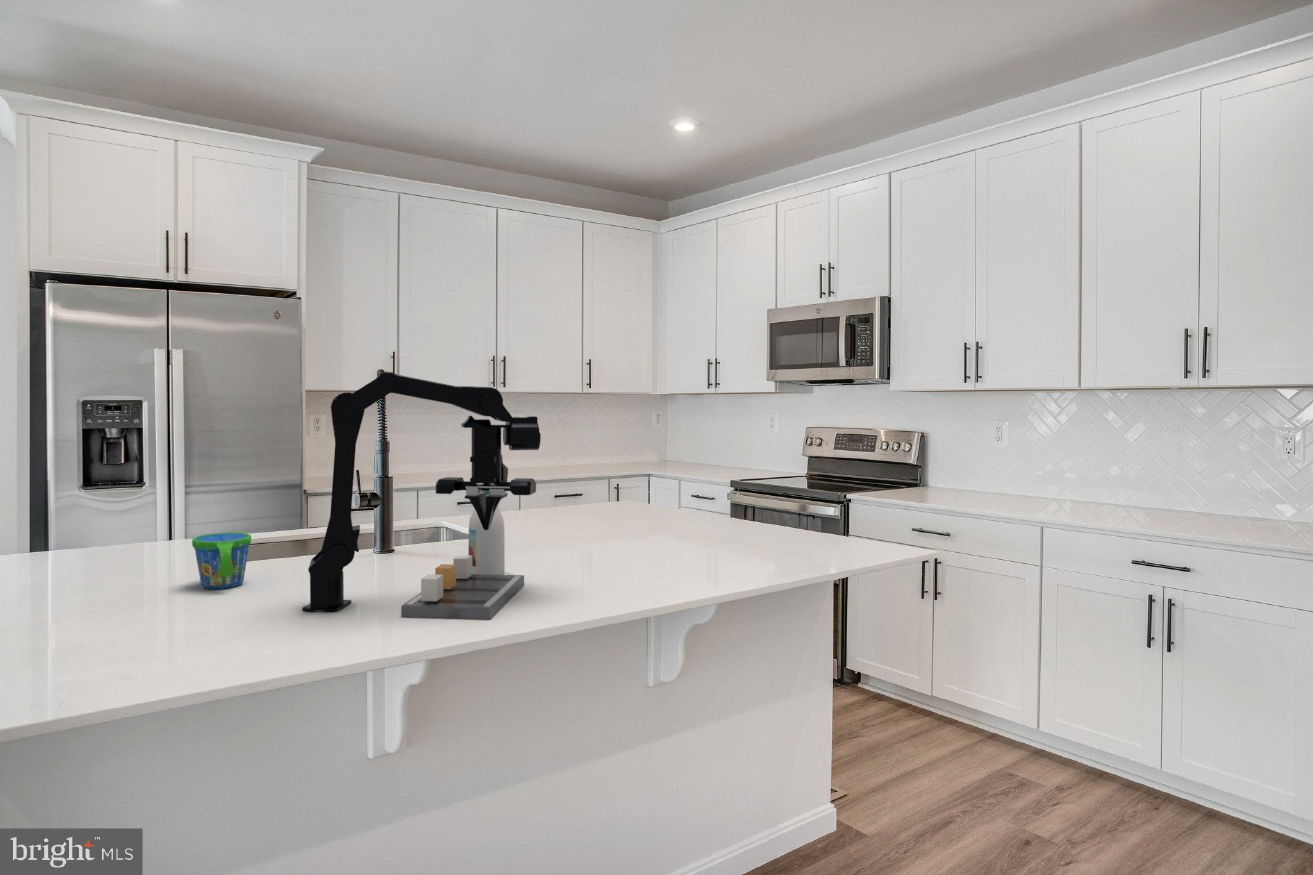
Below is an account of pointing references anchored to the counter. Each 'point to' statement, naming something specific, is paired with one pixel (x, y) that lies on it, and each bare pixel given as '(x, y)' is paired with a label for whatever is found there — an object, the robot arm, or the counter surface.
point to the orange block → (447, 574)
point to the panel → (468, 598)
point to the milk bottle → (487, 544)
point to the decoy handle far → (463, 566)
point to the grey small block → (431, 587)
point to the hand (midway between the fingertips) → (486, 529)
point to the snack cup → (221, 559)
